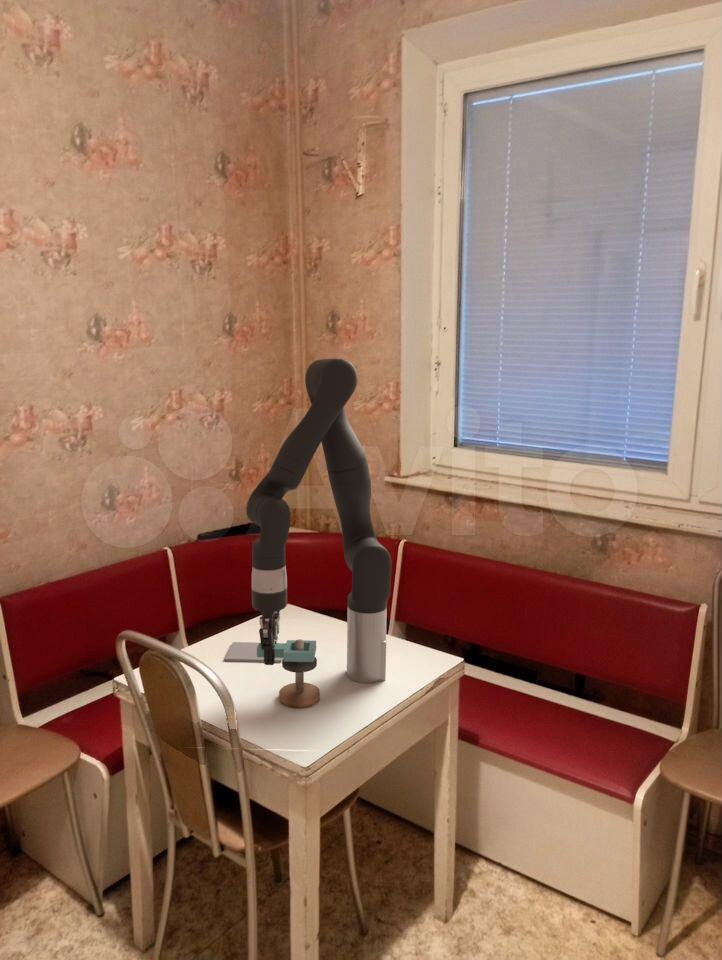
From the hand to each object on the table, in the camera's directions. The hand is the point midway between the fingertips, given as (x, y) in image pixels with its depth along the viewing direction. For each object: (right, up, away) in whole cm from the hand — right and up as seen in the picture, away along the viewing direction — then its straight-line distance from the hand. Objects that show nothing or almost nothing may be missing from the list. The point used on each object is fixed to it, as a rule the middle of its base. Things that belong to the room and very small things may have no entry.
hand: (270, 660), depth 155 cm
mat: (-7, -4, +24) cm, 25 cm away
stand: (+6, -9, +2) cm, 11 cm away
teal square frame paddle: (+4, +1, 0) cm, 4 cm away
